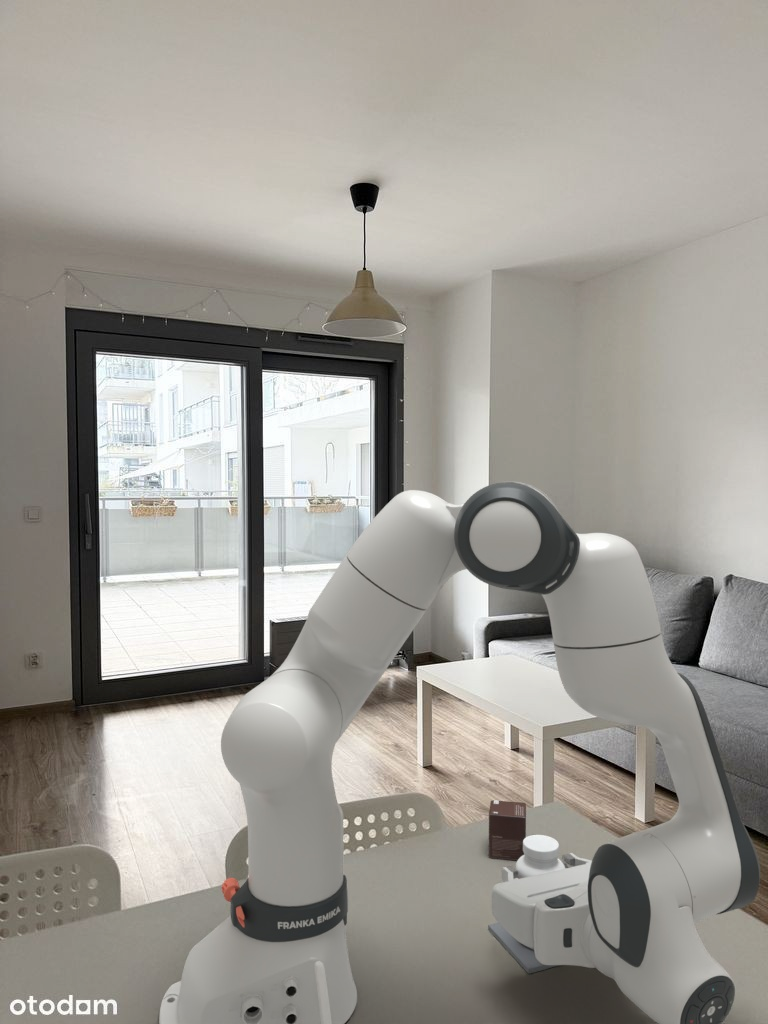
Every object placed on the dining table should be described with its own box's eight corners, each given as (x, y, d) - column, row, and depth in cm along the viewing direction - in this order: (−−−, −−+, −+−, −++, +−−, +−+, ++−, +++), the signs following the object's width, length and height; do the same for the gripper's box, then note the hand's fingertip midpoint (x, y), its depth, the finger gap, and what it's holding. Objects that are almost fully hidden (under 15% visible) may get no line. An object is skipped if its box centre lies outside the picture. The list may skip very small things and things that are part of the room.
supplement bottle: (507, 926, 99) (508, 832, 99) (553, 920, 100) (553, 828, 100) (525, 956, 93) (526, 857, 92) (574, 950, 94) (575, 852, 94)
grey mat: (528, 973, 90) (528, 969, 90) (488, 929, 99) (488, 924, 99) (595, 955, 94) (595, 950, 94) (549, 913, 103) (550, 909, 103)
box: (525, 862, 118) (525, 817, 118) (488, 858, 119) (488, 814, 119) (526, 845, 124) (526, 802, 124) (490, 841, 125) (490, 799, 125)
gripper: (674, 877, 88) (600, 829, 101) (530, 912, 81) (470, 855, 93) (673, 928, 88) (600, 874, 101) (529, 968, 81) (469, 904, 94)
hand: (536, 865), depth 97 cm, fingers open, 8 cm apart
